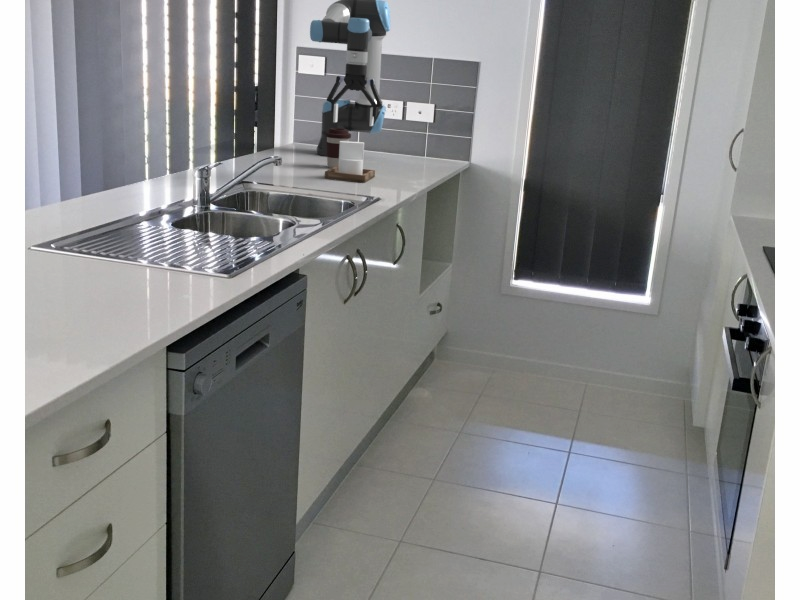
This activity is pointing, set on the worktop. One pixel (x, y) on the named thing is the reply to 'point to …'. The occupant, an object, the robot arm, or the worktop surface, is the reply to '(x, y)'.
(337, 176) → the tray
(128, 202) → the worktop surface
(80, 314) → the worktop surface
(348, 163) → the white box
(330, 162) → the coffee cup
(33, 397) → the worktop surface
